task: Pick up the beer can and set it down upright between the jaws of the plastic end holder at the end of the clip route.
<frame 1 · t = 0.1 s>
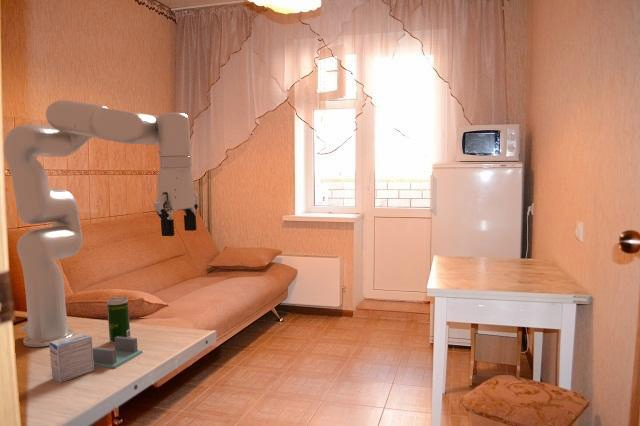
hand: (179, 233, 121), 31 cm above the table, fingers open, 9 cm apart
medicine box: (73, 375, 114), on the table
clip a: (84, 353, 127), on the table
clip b: (72, 367, 118), on the table
beer can: (120, 341, 136), on the table
end holder: (116, 358, 123), on the table
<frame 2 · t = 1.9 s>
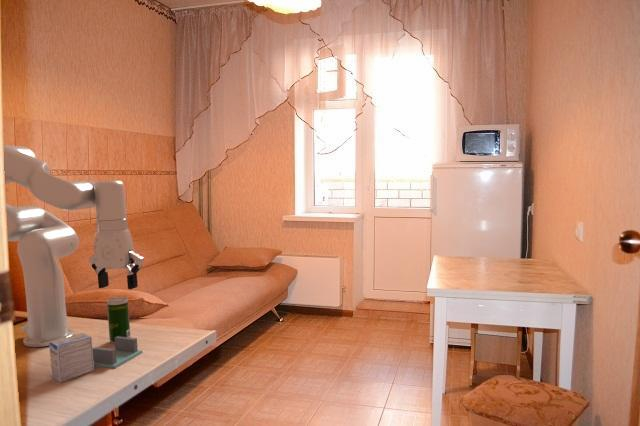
hand: (118, 287, 134), 15 cm above the table, fingers open, 9 cm apart
nothing on the table moved.
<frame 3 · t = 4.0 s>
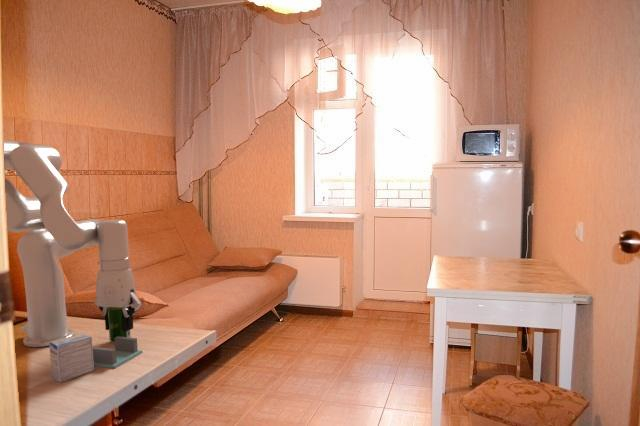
hand: (119, 328, 135), 3 cm above the table, fingers closed on beer can, 5 cm apart
beer can: (120, 341, 136), on the table, touching gripper
everything else where it was.
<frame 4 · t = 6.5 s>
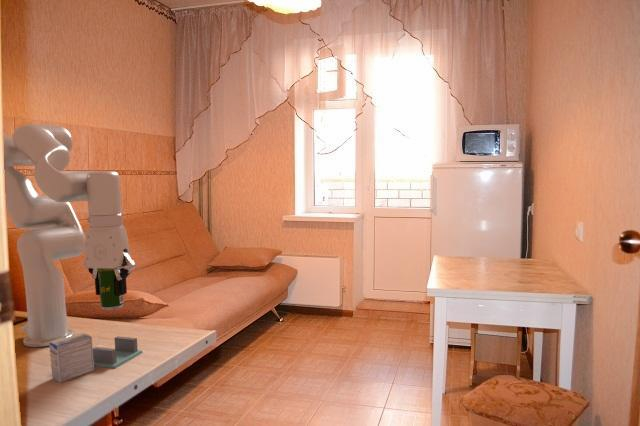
hand: (111, 293, 121), 17 cm above the table, fingers closed on beer can, 5 cm apart
beer can: (112, 307, 122), point 13 cm above the table, touching gripper
everything else where it was.
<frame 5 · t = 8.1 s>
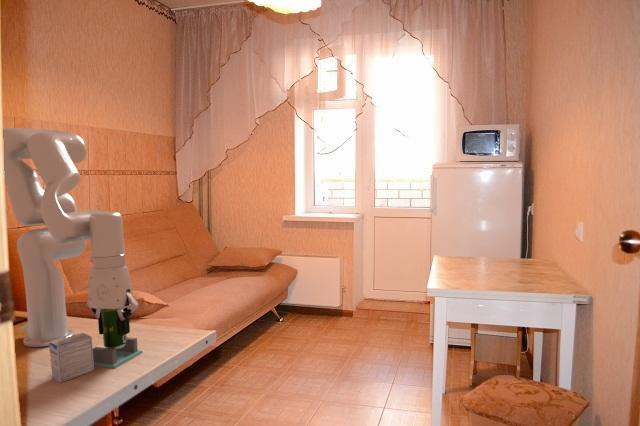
hand: (114, 332, 122), 7 cm above the table, fingers closed on beer can, 5 cm apart
beer can: (115, 346, 122), point 3 cm above the table, touching gripper
everything else where it was.
when the fingers open (5 cm above the table, at t = 9.3 s): beer can drops 1 cm, resting on end holder.
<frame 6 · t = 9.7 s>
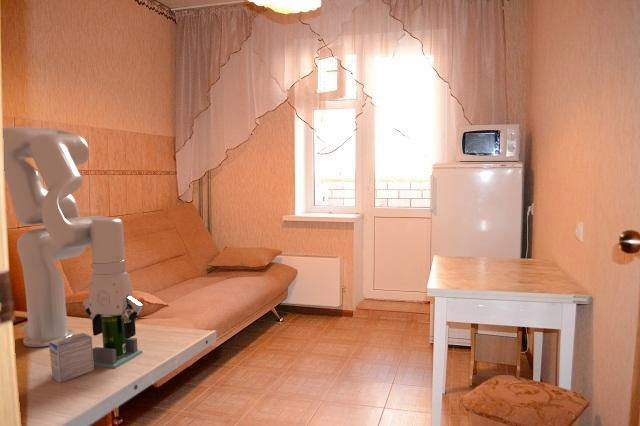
hand: (114, 335, 122), 6 cm above the table, fingers open, 9 cm apart
beer can: (115, 356, 123), resting on end holder
everything else where it was.
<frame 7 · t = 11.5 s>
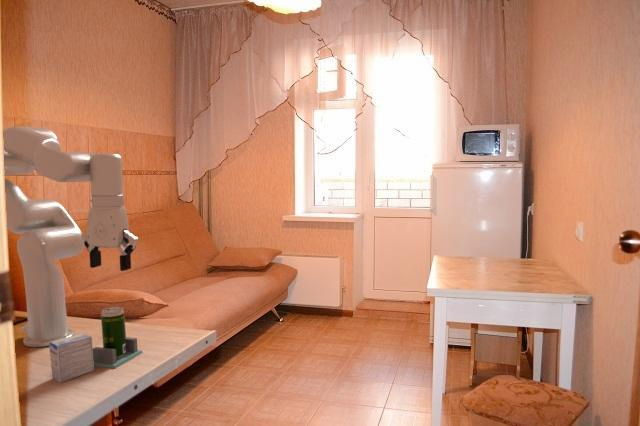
hand: (110, 268, 126), 22 cm above the table, fingers open, 9 cm apart
nothing on the table moved.
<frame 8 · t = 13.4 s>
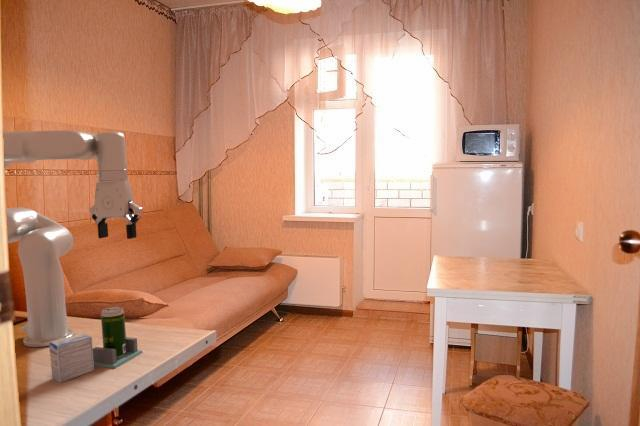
hand: (117, 237, 137), 28 cm above the table, fingers open, 9 cm apart
nothing on the table moved.
at the end: beer can 0.2 cm off-centre on the end holder, point 0.4 cm above the end holder's base; beer can tilted 0°; the gripper is holding nothing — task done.
